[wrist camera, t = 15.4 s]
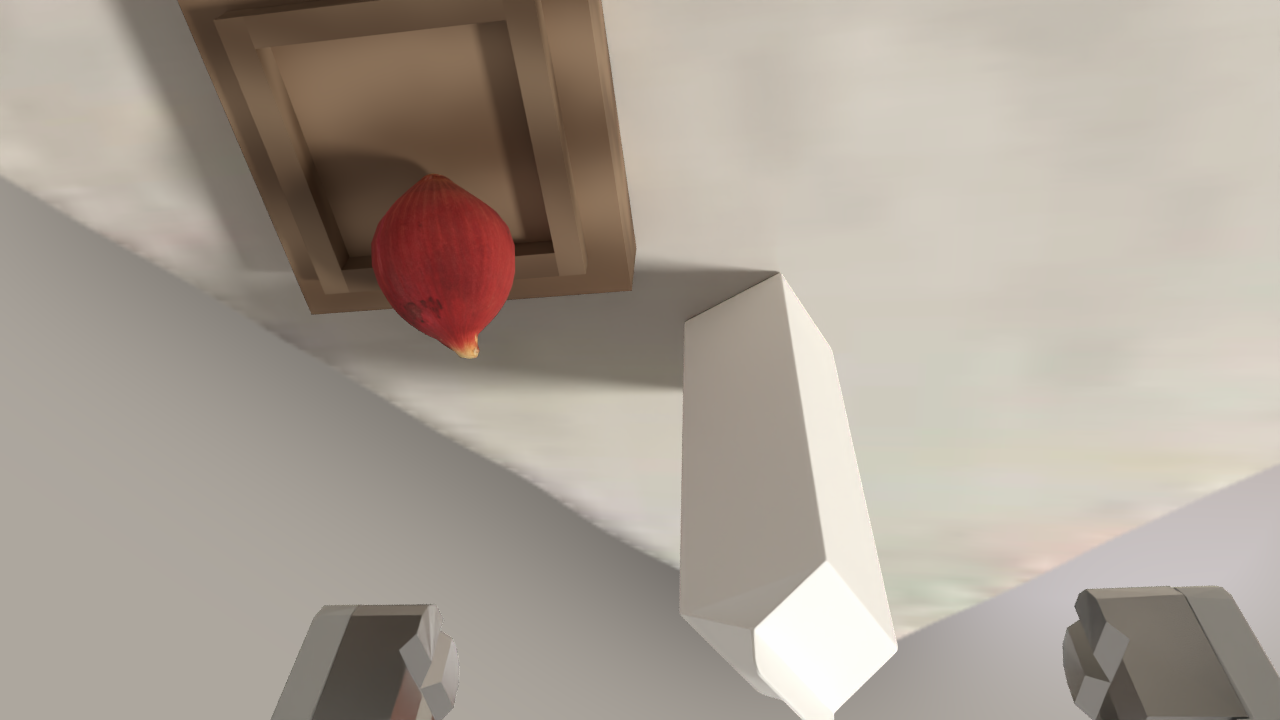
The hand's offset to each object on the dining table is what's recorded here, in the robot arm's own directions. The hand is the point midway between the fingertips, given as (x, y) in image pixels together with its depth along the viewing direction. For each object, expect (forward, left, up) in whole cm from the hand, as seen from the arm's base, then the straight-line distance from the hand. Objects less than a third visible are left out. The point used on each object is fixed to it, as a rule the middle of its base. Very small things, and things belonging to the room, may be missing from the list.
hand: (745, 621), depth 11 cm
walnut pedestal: (+4, -13, -31) cm, 34 cm away
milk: (+18, +1, -31) cm, 36 cm away
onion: (+4, -12, -26) cm, 29 cm away
